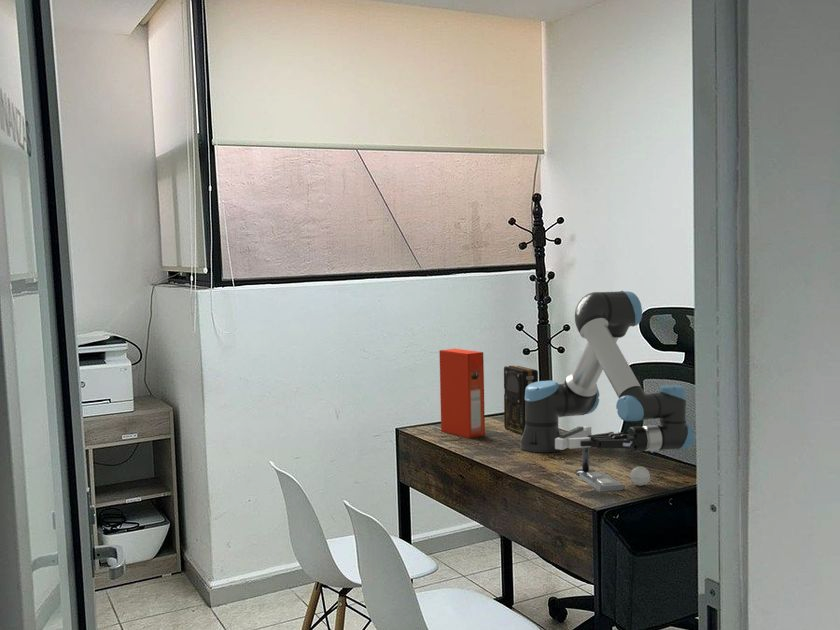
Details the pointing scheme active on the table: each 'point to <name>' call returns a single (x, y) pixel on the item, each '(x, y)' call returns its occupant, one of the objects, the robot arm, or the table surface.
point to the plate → (600, 481)
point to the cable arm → (571, 436)
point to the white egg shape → (640, 476)
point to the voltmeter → (516, 396)
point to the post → (584, 462)
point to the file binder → (462, 392)
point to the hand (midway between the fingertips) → (568, 443)
